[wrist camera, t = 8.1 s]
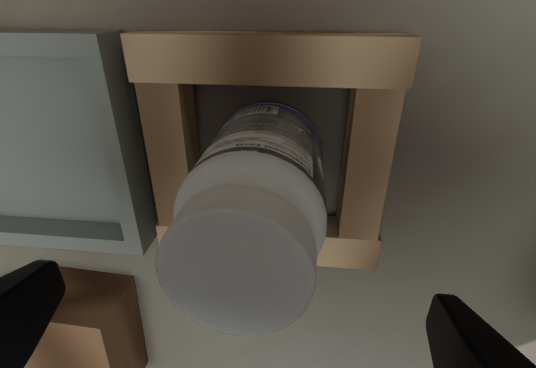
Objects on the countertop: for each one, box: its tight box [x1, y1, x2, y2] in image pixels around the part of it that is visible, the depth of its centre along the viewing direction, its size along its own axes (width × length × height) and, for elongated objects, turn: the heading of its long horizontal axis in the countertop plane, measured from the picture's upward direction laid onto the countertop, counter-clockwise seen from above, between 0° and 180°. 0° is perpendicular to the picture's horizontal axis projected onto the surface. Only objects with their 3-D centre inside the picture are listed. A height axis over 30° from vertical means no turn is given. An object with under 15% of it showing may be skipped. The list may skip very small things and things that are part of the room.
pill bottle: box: [156, 102, 327, 336], centre depth 12 cm, size 5×5×8 cm
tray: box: [0, 29, 158, 255], centre depth 16 cm, size 11×10×2 cm
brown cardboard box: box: [24, 267, 148, 368], centre depth 21 cm, size 6×8×4 cm
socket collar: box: [120, 30, 422, 271], centre depth 15 cm, size 10×10×2 cm
